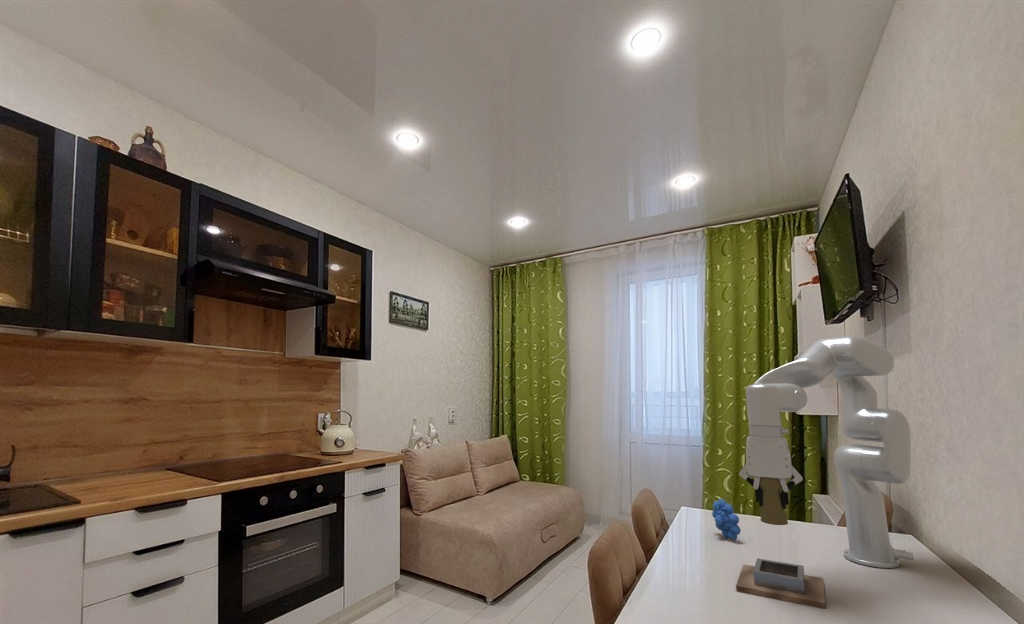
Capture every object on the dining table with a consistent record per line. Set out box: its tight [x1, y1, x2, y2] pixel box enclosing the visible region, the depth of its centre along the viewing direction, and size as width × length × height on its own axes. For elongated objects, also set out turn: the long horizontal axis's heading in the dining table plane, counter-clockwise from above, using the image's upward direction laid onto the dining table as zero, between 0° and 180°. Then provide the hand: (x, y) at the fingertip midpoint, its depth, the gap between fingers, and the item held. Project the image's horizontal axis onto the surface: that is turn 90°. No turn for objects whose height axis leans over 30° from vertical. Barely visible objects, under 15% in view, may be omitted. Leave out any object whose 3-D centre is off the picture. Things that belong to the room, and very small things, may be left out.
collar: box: [753, 558, 806, 594], centre depth 114 cm, size 10×10×3 cm
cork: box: [759, 478, 789, 526], centre depth 117 cm, size 6×6×11 cm
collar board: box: [735, 563, 826, 610], centre depth 114 cm, size 18×16×1 cm
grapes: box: [711, 498, 741, 541], centre depth 151 cm, size 12×7×12 cm, turn 16°
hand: (772, 505), depth 117 cm, fingers closed on cork, 4 cm apart
